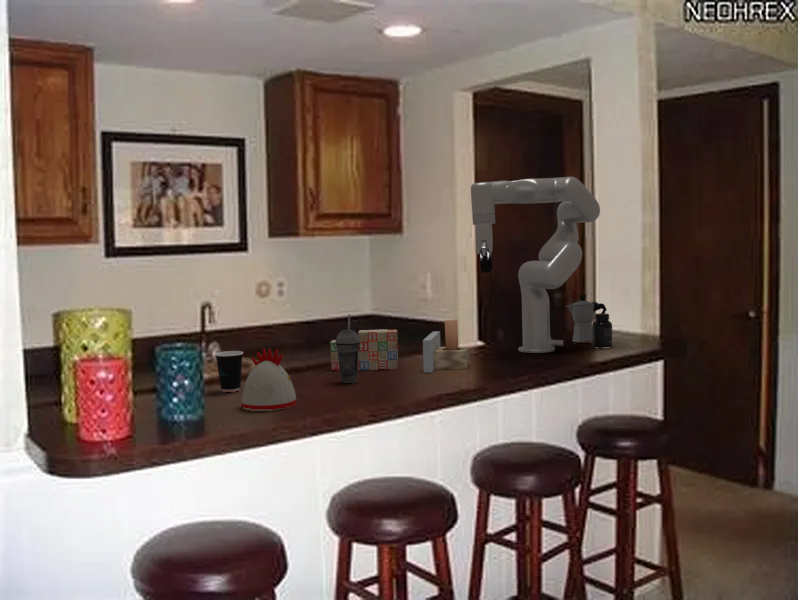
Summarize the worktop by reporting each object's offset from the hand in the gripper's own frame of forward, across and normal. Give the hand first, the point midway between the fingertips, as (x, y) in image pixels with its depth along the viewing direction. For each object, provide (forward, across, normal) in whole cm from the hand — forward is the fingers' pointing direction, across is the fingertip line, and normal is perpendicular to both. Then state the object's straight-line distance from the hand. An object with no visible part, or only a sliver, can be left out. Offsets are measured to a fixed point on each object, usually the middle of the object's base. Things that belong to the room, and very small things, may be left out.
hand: (486, 271), depth 278 cm
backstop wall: (+28, +18, -18) cm, 38 cm away
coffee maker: (+31, -35, +33) cm, 58 cm away
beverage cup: (+27, +45, -39) cm, 65 cm away
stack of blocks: (+28, +20, -39) cm, 52 cm away
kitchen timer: (+26, +78, -52) cm, 97 cm away
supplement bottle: (+31, -21, +38) cm, 53 cm away
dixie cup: (+26, +58, -70) cm, 95 cm away
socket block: (+29, +18, -11) cm, 36 cm away
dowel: (+28, +18, -11) cm, 35 cm away
